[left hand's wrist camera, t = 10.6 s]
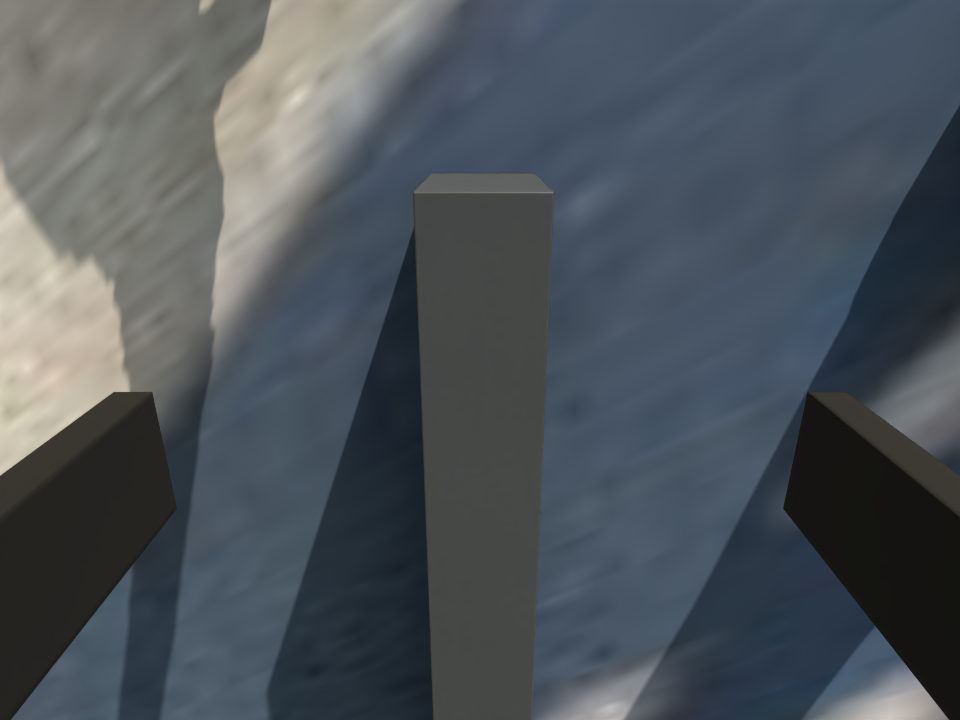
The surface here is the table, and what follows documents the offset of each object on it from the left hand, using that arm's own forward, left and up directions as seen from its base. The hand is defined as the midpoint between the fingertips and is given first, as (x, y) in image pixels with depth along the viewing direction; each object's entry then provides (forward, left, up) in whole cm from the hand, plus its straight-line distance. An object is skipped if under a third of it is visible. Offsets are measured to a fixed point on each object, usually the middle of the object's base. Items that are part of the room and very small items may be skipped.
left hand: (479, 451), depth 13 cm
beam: (+15, +26, -19) cm, 36 cm away
